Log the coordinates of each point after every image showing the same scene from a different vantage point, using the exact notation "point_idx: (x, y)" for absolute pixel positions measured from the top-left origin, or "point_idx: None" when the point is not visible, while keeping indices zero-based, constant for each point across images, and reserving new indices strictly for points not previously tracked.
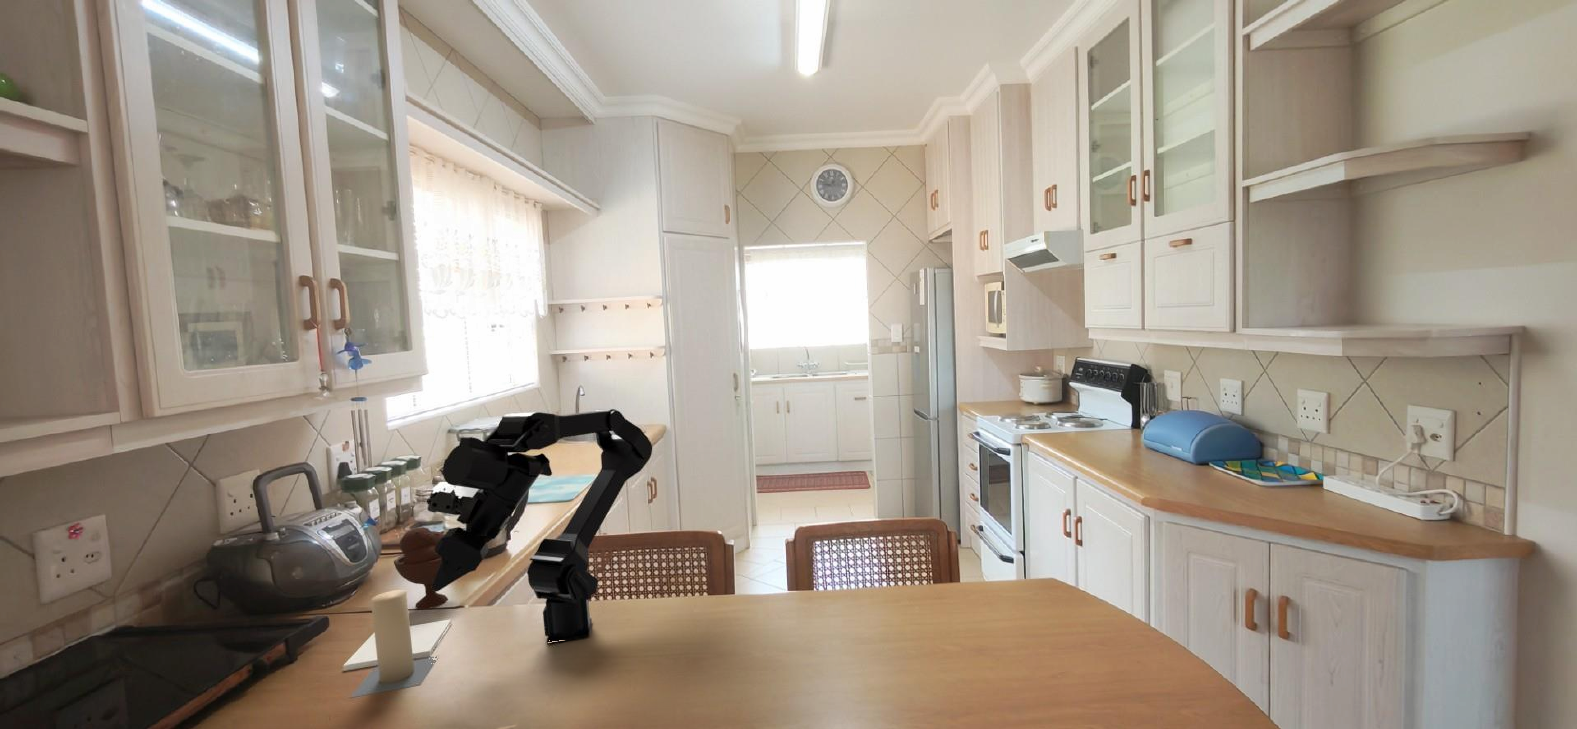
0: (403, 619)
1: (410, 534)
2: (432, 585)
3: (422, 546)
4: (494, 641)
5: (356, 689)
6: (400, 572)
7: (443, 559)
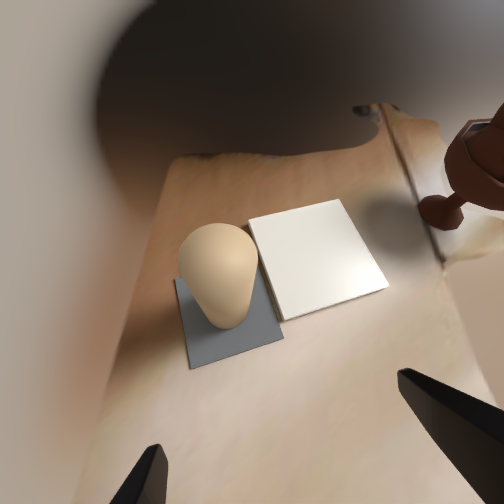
0: (214, 310)
1: None
2: (135, 465)
3: None
4: (340, 416)
5: None
6: (448, 149)
7: None
